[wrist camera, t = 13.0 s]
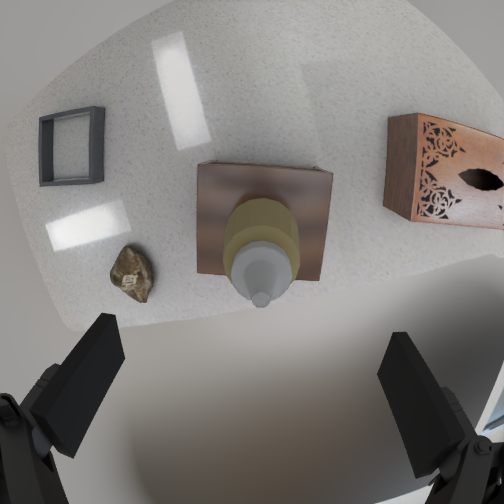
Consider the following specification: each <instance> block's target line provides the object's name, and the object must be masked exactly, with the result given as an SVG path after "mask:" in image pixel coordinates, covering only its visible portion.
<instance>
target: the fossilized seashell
mask: <svg viewBox="0 0 504 504" xmlns="http://www.w3.org/2000/svg"><path fill="white" fill-rule="evenodd" d="M110 278H111V282H112V283H113V284H114V285H115V286H117V287H119V288H120V289H121V290H122V291H123V292H126V294H128V295H129V296H130V297H132V298H133V299H135V300H136V301H138V302H140V303H141V302H143V303H146V302H147V297H148V294H149V292H150V290H151V288H152V287H153V283H154V277H153V275H152V268H151V265H150V263H149V262H148V260H147V259H146V258H145V257H144V256H143V255H142V254H141V253H139V252H138V251H136V250H134V249H132V248H131V247H129V246H125V247H124V248H123V249H122V251H121V252H120V254H119V256H118V258H117V260H116V261H115V264H114V266H113V267H112V269H111V271H110Z"/></svg>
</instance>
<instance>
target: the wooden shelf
mask: <svg viewBox="0 0 504 504" xmlns="http://www.w3.org/2000/svg"><path fill="white" fill-rule="evenodd" d="M332 181H333V173H331V172H328V171H326V170H323V169H321V168H318V167H313V168H305V167H295V166H283V165H270V164H254V163H235V162H217V160H211V161H207V162H204V163H200V164H198V176H197V273H201V274H214V275H226V274H225V269H224V264H223V250H224V237H225V230H226V225H227V221H228V218H229V217H230V215H231V214H232V213H233V211H234V210H235V209H236V208H237V207H238V206H240V205H241V204H243V203H245V202H247V201H248V200H252V199H259V198H267V199H271V200H274V201H278V202H280V203H281V204H282V205H284V206H285V207H286V208H288V209H289V210H290V211H291V213H292V214H293V216H294V218H295V220H296V222H297V224H298V235H299V252H300V267H299V270H298V273H297V276H296V278H295V279H294V280H307V281H319V279H320V273H321V267H322V260H323V253H324V246H325V239H326V232H327V224H328V216H329V208H330V199H331V190H332Z"/></svg>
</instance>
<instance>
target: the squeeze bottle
mask: <svg viewBox="0 0 504 504" xmlns="http://www.w3.org/2000/svg"><path fill="white" fill-rule="evenodd" d="M223 264H224V269H225V274H226V275H227V277H228V278H229V280H230V281H231V283H232V284H233V286H234V287H235V288H236V290H237V291H238V293H239V294H241V295H242V296H244V297H245V298H247V299H248V300H252V303H253V304H254V305H255V306H256V307H259V308H264V307H266V306H267V305H268V304H269V303H270V301H272V300H274V299H276V298H278V297H280V296H281V295H282V294H283V293H284V292H285V291H286V290H287V289H288V288H289V285H290V284H291V283H292V282H293V281H294V279H295V278H296V276H297V273H298V270H299V267H300V252H299V235H298V224H297V222H296V220H295V218H294V216H293V214H292V213H291V211H290V210H289V209H288V208H286V207H285V206H284V205H282V204H281V203H280V202H278V201H274V200H271V199H267V198H259V199H252V200H248V201H247V202H245V203H243V204H241V205H240V206H238V207H237V208H236V209H235V210H234V211H233V213H232V214H231V215H230V217H229V218H228V221H227V225H226V230H225V237H224V250H223Z"/></svg>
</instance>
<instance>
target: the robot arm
mask: <svg viewBox="0 0 504 504" xmlns="http://www.w3.org/2000/svg"><path fill="white" fill-rule="evenodd" d="M124 360H125V356H124V352H123V348H122V344H121V339H120V334H119V330H118V325H117V320H116V315H113V314H107V313H101V315H100V316H99V317H98V318H97V319H96V321H95V322H94V323H93V324H92V326H91V327H90V328H89V329H88V331H87V332H86V333H85V335H84V336H83V337H82V338H81V340H80V341H79V342H78V343H77V345H76V346H75V347H74V348H73V350H72V351H71V352H70V354H69V355H68V356H67V357H66V359H65V360H64V361H63V363H62V364H61V365H59V364H56V363H55V364H53V365H52V366H51V367H49V368H47V369H46V370H45V372H44V373H43V374H42V376H41V377H40V379H38V381H37V382H36V383H35V385H34V386H33V388H32V389H31V390H30V392H29V393H28V394H27V396H26V397H25V398H24V400H23V401H22V403H21V404H20V406H19V405H18V404H17V402H16V401H15V399H14V398H13V397H12V396H11V395H10V394H7V393H1V394H0V504H69V502H68V500H67V497H66V495H65V492H64V489H63V487H62V484H61V481H60V478H59V475H58V472H57V468H56V465H55V462H54V458H53V455H52V453H51V451H50V449H51V447H52V445H53V446H54V447H55V448H56V450H57V451H58V452H59V453H61V454H64V455H66V456H68V457H71V458H74V456H75V454H76V452H77V450H78V448H79V446H80V444H81V442H82V440H83V438H84V436H85V434H86V432H87V430H88V428H89V426H90V424H91V422H92V420H93V418H94V416H95V414H96V412H97V410H98V408H99V406H100V404H101V402H102V401H103V398H104V397H105V395H106V393H107V391H108V389H109V387H110V385H111V383H112V382H113V380H114V378H115V376H116V374H117V372H118V370H119V369H120V367H121V365H122V364H123V361H124ZM377 375H378V378H379V380H380V383H381V385H382V388H383V390H384V393H385V395H386V398H387V400H388V402H389V405H390V408H391V410H392V413H393V416H394V418H395V421H396V424H397V426H398V429H399V432H400V434H401V437H402V440H403V443H404V445H405V448H406V451H407V454H408V457H409V460H410V463H411V465H412V469H413V472H414V475H415V478H416V479H417V478H420V477H423V476H427V475H430V474H432V473H433V472H434V471H435V470H436V469H437V468H438V467H439V470H440V473H439V474H438V475H437V476H436V477H435V478H434V479H433V480H432V481H431V482H430V483H429V484H428V486H430V485H432V484H433V483H434V485H433V487H432V489H431V492H430V494H429V496H428V498H427V500H426V502H425V504H504V442H499V443H492V442H491V441H490V440H489V438H487V437H485V436H481V435H477V434H476V432H475V430H474V428H473V426H472V424H471V423H470V421H469V419H468V417H467V415H466V414H465V412H464V411H463V408H462V407H461V405H460V404H459V401H458V400H457V398H456V396H455V394H454V393H453V392H452V391H451V390H449V389H448V388H447V387H442V388H440V387H439V385H438V383H437V381H436V380H435V378H434V376H433V374H432V373H431V371H430V369H429V368H428V366H427V364H426V363H425V361H424V359H423V358H422V356H421V354H420V353H419V351H418V350H417V348H416V347H415V345H414V344H413V342H412V340H411V339H410V337H409V336H408V334H407V333H406V332H393V333H392V336H391V340H390V342H389V345H388V347H387V350H386V353H385V355H384V358H383V360H382V363H381V365H380V368H379V370H378V373H377ZM500 479H501V484H500Z"/></svg>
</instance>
